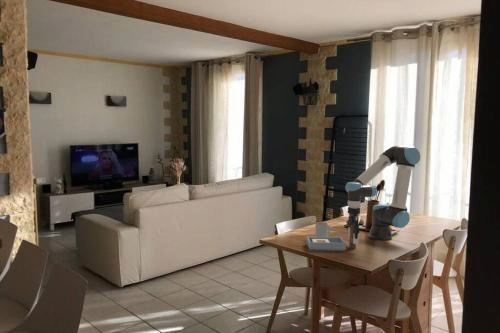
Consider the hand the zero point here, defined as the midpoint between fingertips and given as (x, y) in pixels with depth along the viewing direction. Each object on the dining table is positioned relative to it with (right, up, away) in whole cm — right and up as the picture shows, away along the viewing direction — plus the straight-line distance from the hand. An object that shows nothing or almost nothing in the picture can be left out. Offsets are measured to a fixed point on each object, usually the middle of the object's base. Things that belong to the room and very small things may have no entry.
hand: (352, 240), depth 252 cm
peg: (0, -5, 0) cm, 5 cm away
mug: (-15, -3, +21) cm, 25 cm away
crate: (-17, -4, +1) cm, 18 cm away
